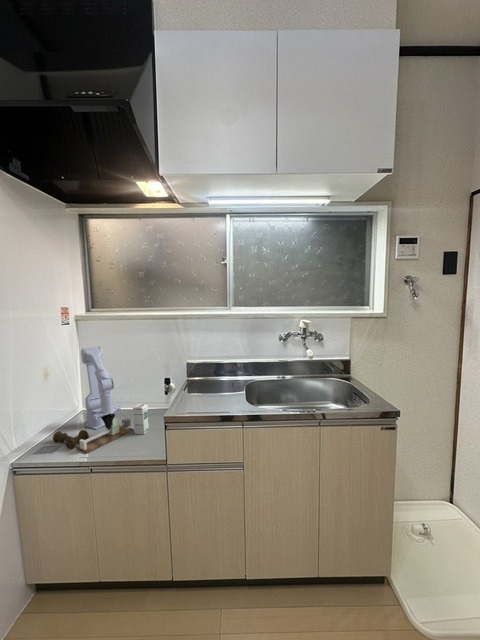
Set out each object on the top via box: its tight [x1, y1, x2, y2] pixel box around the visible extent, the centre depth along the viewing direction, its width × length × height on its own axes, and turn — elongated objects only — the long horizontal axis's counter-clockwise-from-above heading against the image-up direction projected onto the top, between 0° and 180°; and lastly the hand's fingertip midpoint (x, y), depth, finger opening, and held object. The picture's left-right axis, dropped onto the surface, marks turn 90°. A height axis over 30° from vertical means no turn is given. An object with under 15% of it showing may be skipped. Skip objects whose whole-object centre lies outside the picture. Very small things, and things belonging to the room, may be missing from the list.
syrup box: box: [132, 403, 150, 435], centre depth 167 cm, size 6×6×14 cm
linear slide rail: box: [79, 417, 132, 450], centre depth 160 cm, size 27×4×5 cm, turn 149°
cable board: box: [75, 426, 134, 454], centre depth 159 cm, size 27×8×1 cm, turn 149°
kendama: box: [52, 429, 90, 450], centre depth 156 cm, size 6×10×20 cm
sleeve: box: [108, 417, 120, 435], centre depth 163 cm, size 4×4×7 cm
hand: (108, 428), depth 160 cm, fingers closed
